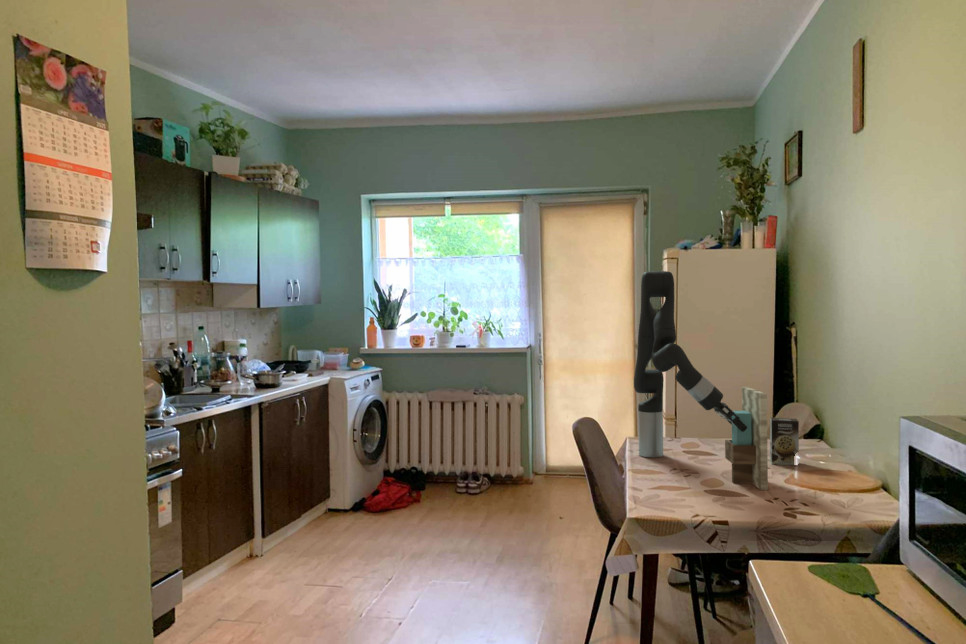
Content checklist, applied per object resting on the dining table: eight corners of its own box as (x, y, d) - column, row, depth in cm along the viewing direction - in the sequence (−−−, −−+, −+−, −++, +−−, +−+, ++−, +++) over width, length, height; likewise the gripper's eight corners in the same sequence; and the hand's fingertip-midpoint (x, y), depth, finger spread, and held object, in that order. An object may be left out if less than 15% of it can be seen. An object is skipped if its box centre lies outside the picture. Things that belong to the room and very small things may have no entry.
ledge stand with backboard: (721, 475, 227) (720, 387, 226) (748, 475, 226) (747, 386, 225) (738, 490, 209) (737, 394, 208) (767, 490, 208) (766, 394, 207)
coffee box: (771, 464, 240) (771, 420, 240) (769, 460, 246) (769, 417, 246) (799, 466, 237) (799, 421, 237) (797, 462, 243) (796, 418, 243)
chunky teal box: (732, 456, 220) (731, 410, 220) (746, 456, 220) (745, 410, 219) (737, 460, 215) (736, 413, 214) (751, 459, 214) (751, 413, 214)
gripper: (719, 387, 210) (756, 423, 210) (706, 381, 224) (742, 415, 224) (702, 404, 211) (739, 440, 210) (690, 397, 225) (726, 431, 225)
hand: (740, 427), depth 217 cm, fingers open, 8 cm apart
